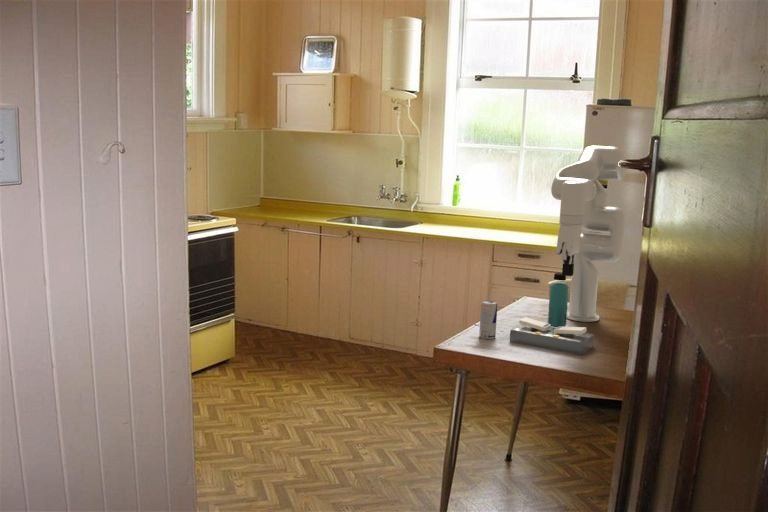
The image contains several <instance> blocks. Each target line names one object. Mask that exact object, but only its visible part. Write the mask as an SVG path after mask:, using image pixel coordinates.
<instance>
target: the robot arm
mask: <svg viewBox="0 0 768 512" xmlns="http://www.w3.org/2000/svg"><path fill="white" fill-rule="evenodd" d="M620 160H626V157H625V154H624V152H623V150H622V149H621V148H619V147H618V146H610V145H609V146H608V145H607V146H606V145H605V146H604V145H589V146H586V147H585V148H583V150H582V152H581V153H580V155H579V157H578V160H576V161H577V162H575V163H572V164H570V165H567V166H565V167H562V168H561V169H560V170H558V172H557V173H556V174H555V177H554V179H553V181H552V184H551V187H550V188H551V189H550V192H551V195H552V197H553V198H554V199H555V200H557V201H560V207H559V210H560V212H559V222H558V223H559V225H560V226H559V229H558V235H557V241H556V242H557V243H556V255H557V256H559V255H561V258H560V259H561V260H562V268H561V270H562V271H561V273H562V275H565V276H566V277H571V282H570V295H569V308H568V310H567V319H568V320H571V321H576V322H584V323H592V322H593V323H594V322H597V321H599V320H600V315H599V314H597V313H596V309H597V298H598V297H597V296H598V286H599V275H600V274H599V269H598V267H597V265H596V264H595V261H597V262H599V261H600V262H606V263H616V262H617V261H619V260H620V257H621V253H622V248H623V240H624V239H623V238H624V230H625V223H626V215H625V212H624V210H623V209H622V208H621V207H617V206H608V205H607V197H608V193H607V191H606V189H605V187H604V186H603V184H602V183H601V182H600V181H610V182H612V181H613V182H620V181H623V180H624V179H625V178H626V176H627V173H628V168H627V169H624V168H621V167H619V166H618V162H619V161H620ZM606 205H607V206H606ZM582 230H585V231H589V232H596V233H597V232H599V233H608V234H609V235H605V234H596V233H589V232H588V233H586V232H584V233H583V232H582Z"/></svg>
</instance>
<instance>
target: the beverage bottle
mask: <svg viewBox="0 0 768 512" xmlns="http://www.w3.org/2000/svg"><path fill="white" fill-rule="evenodd" d="M553 280H556V281H554V282H552V283H551V284H550V286H549V287H550V288H549V298H548V299H549V300H548V312H547V322H546V323H547V324H550V325H551V326H550V327H553V328H557V327H559V326H563V327H567V321H568V320H567V319H568V318H567V312H568V310H569V308H568V304H569V303H568V300H569V299H568V298H569V297H568V296H569V288H570V287H569V285H568V284H567V283H566V282H561V281H566V280H567V276H565V275H562V272H555V273H554V274H553Z"/></svg>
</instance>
